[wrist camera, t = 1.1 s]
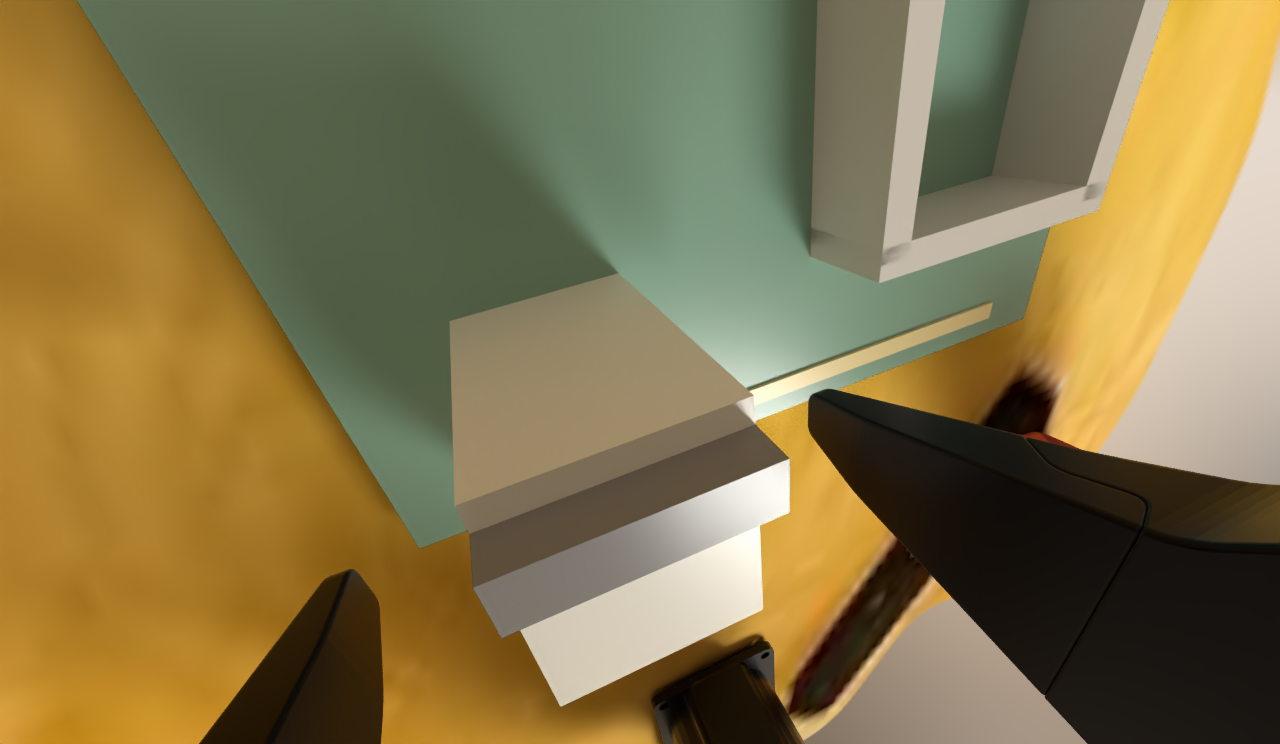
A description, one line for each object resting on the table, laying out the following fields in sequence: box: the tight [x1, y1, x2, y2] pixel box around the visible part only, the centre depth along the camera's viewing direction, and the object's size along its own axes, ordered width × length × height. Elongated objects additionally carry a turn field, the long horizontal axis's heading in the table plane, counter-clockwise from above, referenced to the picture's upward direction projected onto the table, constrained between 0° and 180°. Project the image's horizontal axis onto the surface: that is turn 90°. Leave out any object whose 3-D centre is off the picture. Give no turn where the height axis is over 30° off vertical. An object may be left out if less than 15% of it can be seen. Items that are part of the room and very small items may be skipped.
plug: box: [449, 273, 790, 707], centre depth 9 cm, size 5×4×7 cm
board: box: [77, 0, 1170, 549], centre depth 11 cm, size 14×22×4 cm, turn 99°
